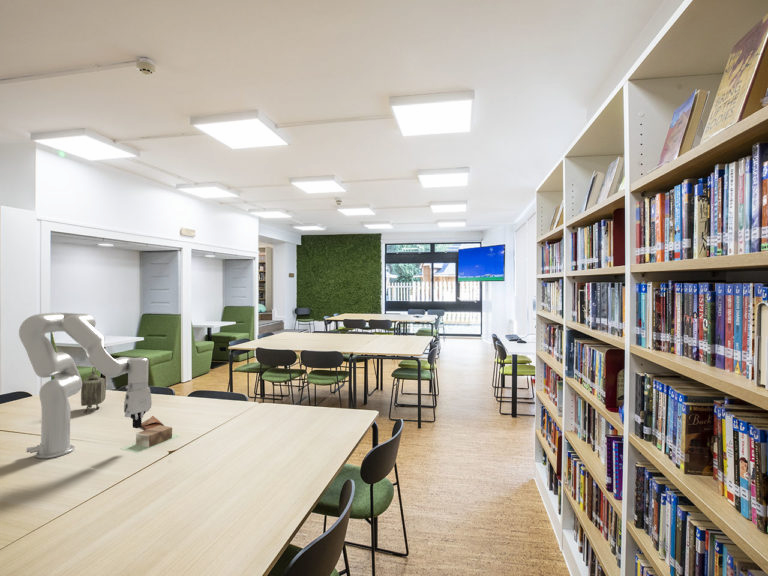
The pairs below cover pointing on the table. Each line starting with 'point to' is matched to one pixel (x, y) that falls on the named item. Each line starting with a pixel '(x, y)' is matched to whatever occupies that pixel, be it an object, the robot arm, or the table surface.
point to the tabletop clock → (93, 391)
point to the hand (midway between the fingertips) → (136, 427)
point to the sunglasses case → (150, 423)
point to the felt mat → (141, 448)
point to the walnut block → (153, 436)
